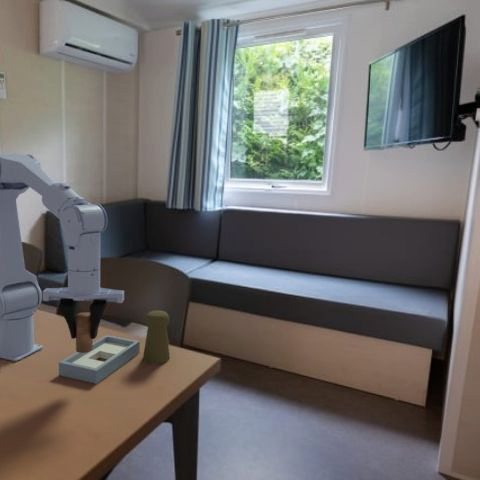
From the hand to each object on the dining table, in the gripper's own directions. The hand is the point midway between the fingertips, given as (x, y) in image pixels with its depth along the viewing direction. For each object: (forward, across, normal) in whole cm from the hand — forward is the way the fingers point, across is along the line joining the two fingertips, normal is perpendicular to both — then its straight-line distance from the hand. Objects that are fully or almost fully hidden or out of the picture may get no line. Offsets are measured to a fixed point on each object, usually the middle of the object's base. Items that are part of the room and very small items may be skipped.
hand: (84, 336), depth 81 cm
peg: (+3, 0, 0) cm, 3 cm away
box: (+10, +1, +9) cm, 14 cm away
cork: (+10, +13, +12) cm, 20 cm away
